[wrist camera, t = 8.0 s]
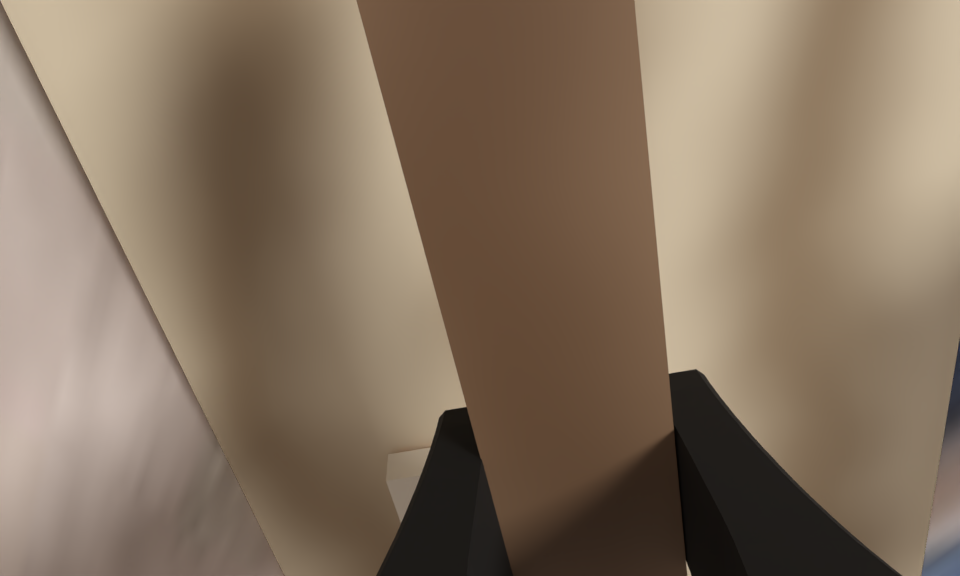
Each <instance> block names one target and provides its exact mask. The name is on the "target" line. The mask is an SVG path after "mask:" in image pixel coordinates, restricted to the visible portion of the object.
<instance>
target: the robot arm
mask: <svg viewBox="0 0 960 576" xmlns="http://www.w3.org/2000/svg"><path fill="white" fill-rule="evenodd" d="M669 382H670V393H671V404H672V414H673V425H674V436H675V447H676V458H677V469H678V480H679V491H680V502H681V512H682V523H683V534H684V545H685V556H686V562H687V565H688V567H689V570H690V573H691V576H902V575H901V574H900V573H898V572H897V571H896V570H894V569H893V568H892V567H891V566H890V565H888V564H887V563H886V562H885V561H883V560H882V559H881V558H880V557H879V556H877V555H876V554H875V553H874V552H872V551H871V550H870V549H869V548H867V547H866V546H865V545H864V544H863V543H862V542H860V541H859V540H858V539H857V538H856V537H855V536H853V535H852V534H851V533H850V532H849V531H848V530H847V529H846V528H844V527H843V526H842V525H841V524H840V523H839V522H838V521H837V520H835V519H834V518H833V517H832V516H831V515H830V514H829V513H828V512H827V511H826V510H825V509H824V508H823V507H822V506H821V505H819V504H818V503H817V502H816V501H815V500H814V499H813V498H812V497H811V496H810V495H809V494H808V493H807V492H806V491H805V490H804V489H803V488H802V487H801V486H800V485H799V484H798V483H797V482H796V481H795V480H794V479H793V478H792V477H791V476H790V475H789V474H788V473H787V472H786V471H785V470H784V469H783V468H782V467H781V466H780V465H779V464H778V463H777V462H776V460H775V459H774V458H773V457H772V456H771V455H770V454H769V453H768V452H767V451H766V450H765V449H764V448H763V447H762V446H761V445H760V443H759V442H758V441H757V440H756V439H755V438H754V437H753V436H752V434H751V433H750V432H749V431H748V430H747V429H746V427H745V426H744V425H743V424H742V423H741V422H740V420H739V419H738V418H737V417H736V416H735V415H734V413H733V412H732V411H731V410H730V408H729V407H728V406H727V405H726V403H725V402H724V401H723V400H722V398H721V397H720V396H719V394H718V393H717V392H716V390H715V389H714V388H713V386H712V385H711V384H710V382H709V381H708V379H707V378H706V376H705V375H704V374H703V373H701V372H700V371H698V370H697V369H693V370H687V371H681V372H675V373H669ZM376 576H513V573H512V569H511V566H510V562H509V558H508V555H507V551H506V547H505V543H504V540H503V536H502V532H501V529H500V525H499V521H498V517H497V514H496V510H495V506H494V503H493V499H492V495H491V491H490V488H489V484H488V480H487V477H486V473H485V469H484V465H483V462H482V459H481V458H480V454H479V451H478V447H477V443H476V440H475V436H474V432H473V429H472V425H471V421H470V418H469V414H468V410H467V407H463V408H457V409H451V410H445V411H444V412H443V414H442V415H441V416H440V417H439V420H438V424H437V428H436V431H435V435H434V438H433V441H432V444H431V447H430V450H429V453H428V456H427V459H426V462H425V465H424V468H423V470H422V473H421V476H420V478H419V481H418V484H417V486H416V489H415V491H414V494H413V496H412V498H411V501H410V503H409V506H408V508H407V510H406V513H405V515H404V518H403V520H402V522H401V525H400V527H399V529H398V531H397V534H396V536H395V538H394V540H393V542H392V544H391V546H390V548H389V550H388V552H387V554H386V556H385V559H384V561H383V563H382V565H381V567H380V569H379V571H378V573H377V575H376Z"/></svg>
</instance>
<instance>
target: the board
mask: <svg viewBox="0 0 960 576" xmlns="http://www.w3.org/2000/svg"><path fill="white" fill-rule="evenodd" d="M0 1H1V3H2V5H3V7H4V9H5V11H6V13H7V15H8V17H9V19H10V21H11V23H12V25H13V27H14V29H15V31H16V33H17V36H18V38H19V40H20V42H21V44H22V46H23V48H24V50H25V52H26V54H27V56H28V58H29V60H30V62H31V64H32V66H33V68H34V70H35V72H36V74H37V76H38V78H39V80H40V82H41V84H42V86H43V88H44V90H45V92H46V94H47V96H48V98H49V100H50V102H51V104H52V106H53V108H54V110H55V112H56V114H57V116H58V118H59V121H60V123H61V125H62V127H63V129H64V131H65V133H66V135H67V137H68V139H69V141H70V143H71V145H72V147H73V149H74V151H75V153H76V155H77V157H78V159H79V161H80V163H81V165H82V167H83V169H84V171H85V173H86V175H87V177H88V179H89V181H90V183H91V185H92V187H93V189H94V191H95V193H96V195H97V197H98V199H99V201H100V204H101V206H102V208H103V210H104V212H105V214H106V216H107V218H108V220H109V222H110V224H111V226H112V228H113V230H114V232H115V234H116V236H117V238H118V240H119V242H120V244H121V246H122V248H123V250H124V252H125V254H126V256H127V258H128V260H129V262H130V264H131V266H132V268H133V270H134V272H135V274H136V276H137V278H138V280H139V282H140V284H141V286H142V289H143V291H144V293H145V295H146V297H147V299H148V301H149V303H150V305H151V307H152V309H153V311H154V313H155V315H156V317H157V319H158V321H159V323H160V325H161V327H162V329H163V331H164V333H165V335H166V337H167V339H168V341H169V343H170V345H171V347H172V349H173V351H174V353H175V355H176V357H177V359H178V361H179V363H180V365H181V367H182V369H183V372H184V374H185V376H186V378H187V380H188V382H189V384H190V386H191V388H192V390H193V392H194V394H195V396H196V398H197V400H198V402H199V404H200V406H201V408H202V410H203V412H204V414H205V416H206V418H207V420H208V422H209V424H210V426H211V428H212V430H213V432H214V434H215V436H216V438H217V440H218V442H219V444H220V446H221V448H222V450H223V452H224V454H225V457H226V459H227V461H228V463H229V465H230V467H231V469H232V471H233V473H234V475H235V477H236V479H237V481H238V483H239V485H240V487H241V489H242V491H243V493H244V495H245V497H246V499H247V501H248V503H249V505H250V507H251V509H252V511H253V513H254V515H255V517H256V519H257V521H258V523H259V525H260V527H261V529H262V531H263V533H264V535H265V537H266V540H267V542H268V544H269V546H270V548H271V550H272V552H273V554H274V556H275V558H276V560H277V562H278V564H279V566H280V568H281V570H282V572H283V574H284V576H376V575H377V573H378V571H379V569H380V567H381V565H382V563H383V561H384V559H385V556H386V554H387V552H388V550H389V548H390V546H391V544H392V542H393V540H394V538H395V536H396V534H397V531H398V529H399V527H400V525H401V522H400V519H399V516H398V514H397V511H396V508H395V505H394V502H393V499H392V497H391V494H390V491H389V488H388V485H387V483H386V474H387V462H388V454H393V453H399V452H405V451H411V450H418V449H424V448H430V447H431V444H432V441H433V438H434V435H435V431H436V428H437V424H438V420H439V417H440V416H441V415H442V414H443V412H444V411H445V410H451V409H457V408H463V407H466V403H465V399H464V395H463V392H462V388H461V384H460V381H459V377H458V373H457V370H456V366H455V362H454V359H453V355H452V351H451V348H450V344H449V340H448V336H447V333H446V329H445V325H444V322H443V318H442V314H441V311H440V307H439V303H438V300H437V296H436V292H435V289H434V285H433V281H432V278H431V274H430V270H429V266H428V263H427V259H426V255H425V252H424V248H423V244H422V241H421V237H420V233H419V230H418V226H417V222H416V219H415V215H414V211H413V207H412V204H411V200H410V196H409V193H408V189H407V185H406V182H405V178H404V174H403V171H402V167H401V163H400V160H399V156H398V152H397V149H396V145H395V141H394V137H393V134H392V130H391V126H390V123H389V119H388V115H387V112H386V108H385V104H384V101H383V97H382V93H381V90H380V86H379V82H378V78H377V75H376V71H375V67H374V64H373V60H372V56H371V53H370V49H369V45H368V42H367V38H366V34H365V31H364V27H363V23H362V20H361V16H360V12H359V8H358V5H357V1H356V0H0ZM634 1H635V12H636V23H637V34H638V45H639V55H640V66H641V77H642V88H643V99H644V110H645V121H646V132H647V142H648V153H649V164H650V175H651V186H652V197H653V208H654V219H655V229H656V240H657V251H658V262H659V273H660V284H661V295H662V306H663V317H664V327H665V338H666V349H667V360H668V371H669V373H675V372H681V371H687V370H693V369H697V370H698V371H700V372H701V373H703V374H704V375H705V376H706V378H707V379H708V381H709V382H710V384H711V385H712V386H713V388H714V389H715V390H716V392H717V393H718V394H719V396H720V397H721V398H722V400H723V401H724V402H725V403H726V405H727V406H728V407H729V408H730V410H731V411H732V412H733V413H734V415H735V416H736V417H737V418H738V419H739V420H740V422H741V423H742V424H743V425H744V426H745V427H746V429H747V430H748V431H749V432H750V433H751V434H752V436H753V437H754V438H755V439H756V440H757V441H758V442H759V443H760V445H761V446H762V447H763V448H764V449H765V450H766V451H767V452H768V453H769V454H770V455H771V456H772V457H773V458H774V459H775V460H776V462H777V463H778V464H779V465H780V466H781V467H782V468H783V469H784V470H785V471H786V472H787V473H788V474H789V475H790V476H791V477H792V478H793V479H794V480H795V481H796V482H797V483H798V484H799V485H800V486H801V487H802V488H803V489H804V490H805V491H806V492H807V493H808V494H809V495H810V496H811V497H812V498H813V499H814V500H815V501H816V502H817V503H818V504H819V505H821V506H822V507H823V508H824V509H825V510H826V511H827V512H828V513H829V514H830V515H831V516H832V517H833V518H834V519H835V520H837V521H838V522H839V523H840V524H841V525H842V526H843V527H844V528H846V529H847V530H848V531H849V532H850V533H851V534H852V535H853V536H855V537H856V538H857V539H858V540H859V541H860V542H862V543H863V544H864V545H865V546H866V547H867V548H869V549H870V550H871V551H872V552H874V553H875V554H876V555H877V556H879V557H880V558H881V559H882V560H883V561H885V562H886V563H887V564H888V565H890V566H891V567H892V568H893V569H894V570H896V571H897V572H898V573H900V574H901V575H902V576H921V573H922V567H923V560H924V554H925V548H926V542H927V536H928V530H929V523H930V517H931V511H932V505H933V499H934V493H935V487H936V480H937V474H938V468H939V462H940V456H941V450H942V443H943V437H944V431H945V425H946V419H947V413H948V407H949V400H950V394H951V388H952V382H953V376H954V370H955V363H956V357H957V351H958V345H959V339H960V0H634ZM686 567H687V576H691V573H690V570H689V567H688V565H687V562H686Z"/></svg>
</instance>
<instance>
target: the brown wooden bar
mask: <svg viewBox="0 0 960 576" xmlns="http://www.w3.org/2000/svg"><path fill="white" fill-rule="evenodd" d="M356 1H357V5H358V8H359V12H360V16H361V20H362V23H363V27H364V31H365V34H366V38H367V42H368V45H369V49H370V53H371V56H372V60H373V64H374V67H375V71H376V75H377V78H378V82H379V86H380V90H381V93H382V97H383V101H384V104H385V108H386V112H387V115H388V119H389V123H390V126H391V130H392V134H393V137H394V141H395V145H396V149H397V152H398V156H399V160H400V163H401V167H402V171H403V174H404V178H405V182H406V185H407V189H408V193H409V196H410V200H411V204H412V207H413V211H414V215H415V219H416V222H417V226H418V230H419V233H420V237H421V241H422V244H423V248H424V252H425V255H426V259H427V263H428V266H429V270H430V274H431V278H432V281H433V285H434V289H435V292H436V296H437V300H438V303H439V307H440V311H441V314H442V318H443V322H444V325H445V329H446V333H447V336H448V340H449V344H450V348H451V351H452V355H453V359H454V362H455V366H456V370H457V373H458V377H459V381H460V384H461V388H462V392H463V395H464V399H465V403H466V407H467V410H468V414H469V418H470V421H471V425H472V429H473V432H474V436H475V440H476V443H477V447H478V451H479V454H480V458H481V459H482V462H483V465H484V469H485V473H486V477H487V480H488V484H489V488H490V491H491V495H492V499H493V503H494V506H495V510H496V514H497V517H498V521H499V525H500V529H501V532H502V536H503V540H504V543H505V547H506V551H507V555H508V558H509V562H510V566H511V569H512V573H513V576H687V567H686V556H685V545H684V534H683V523H682V512H681V502H680V491H679V480H678V469H677V458H676V447H675V436H674V425H673V414H672V404H671V393H670V382H669V371H668V360H667V349H666V338H665V327H664V317H663V306H662V295H661V284H660V273H659V262H658V251H657V240H656V229H655V219H654V208H653V197H652V186H651V175H650V164H649V153H648V142H647V132H646V121H645V110H644V99H643V88H642V77H641V66H640V55H639V45H638V34H637V23H636V12H635V1H634V0H356Z"/></svg>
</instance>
